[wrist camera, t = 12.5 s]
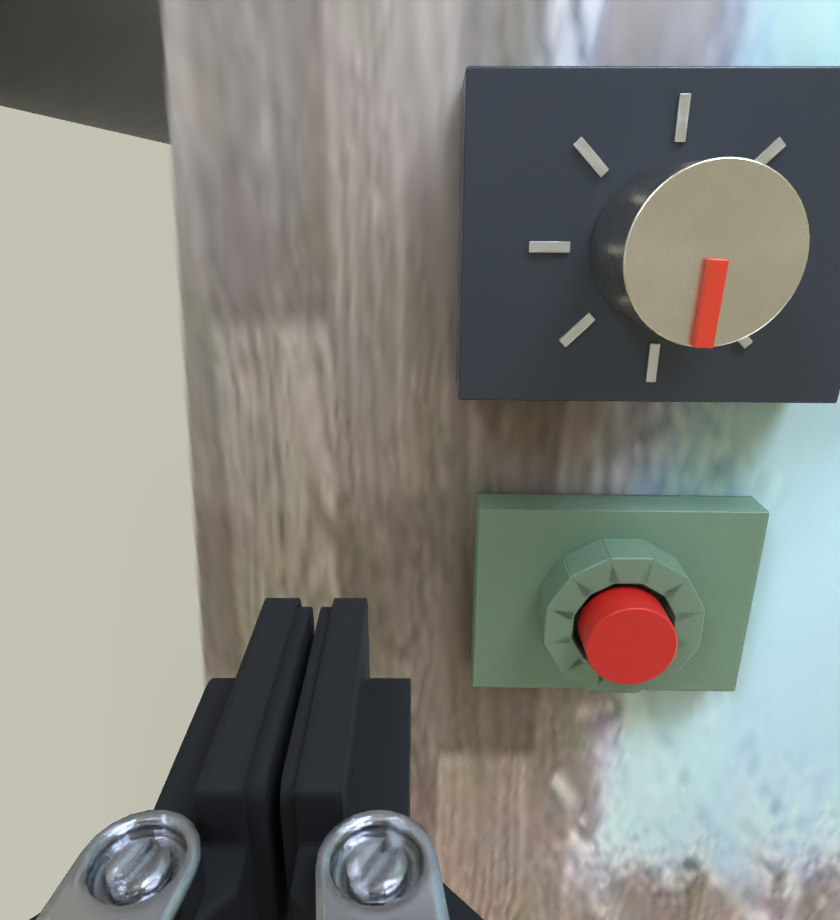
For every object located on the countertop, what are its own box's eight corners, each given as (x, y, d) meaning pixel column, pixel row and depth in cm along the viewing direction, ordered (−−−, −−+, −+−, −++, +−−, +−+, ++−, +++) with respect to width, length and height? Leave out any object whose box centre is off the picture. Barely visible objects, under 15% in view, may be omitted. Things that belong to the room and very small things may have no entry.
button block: (470, 664, 33) (474, 714, 30) (476, 493, 30) (481, 527, 27) (720, 668, 33) (751, 719, 30) (752, 496, 30) (791, 531, 27)
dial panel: (456, 381, 29) (458, 401, 26) (462, 81, 25) (466, 64, 22) (797, 384, 28) (839, 404, 25) (857, 81, 25) (914, 64, 22)
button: (574, 658, 30) (582, 684, 28) (581, 584, 28) (590, 607, 27) (659, 659, 29) (672, 686, 28) (670, 585, 28) (684, 609, 27)
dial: (599, 162, 23) (639, 151, 18) (757, 167, 23) (836, 159, 18) (581, 321, 25) (614, 347, 20) (727, 326, 25) (793, 353, 20)
